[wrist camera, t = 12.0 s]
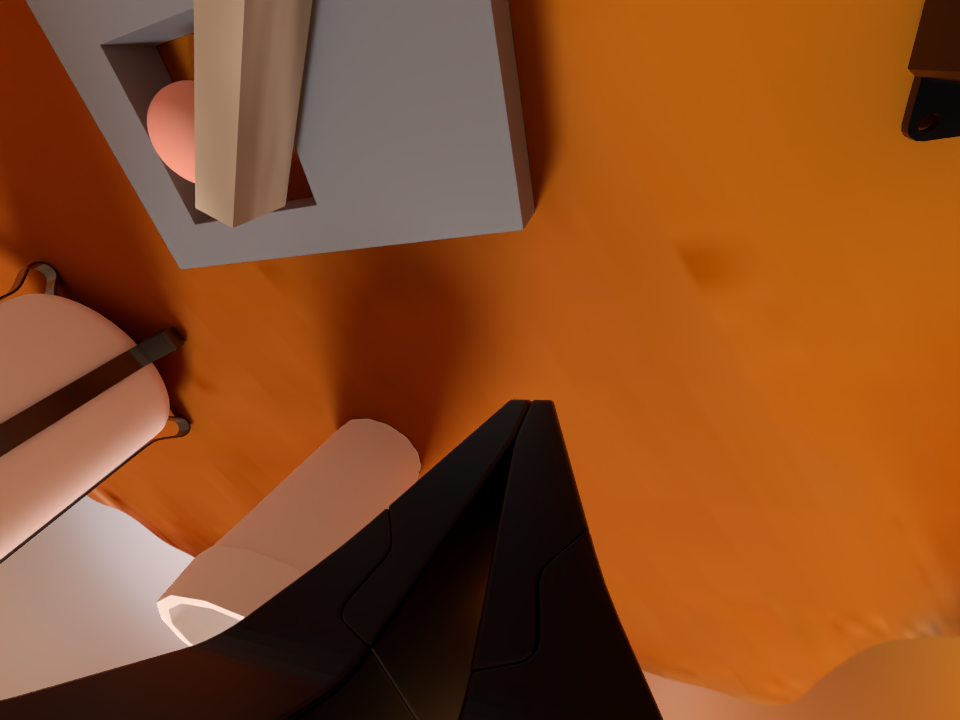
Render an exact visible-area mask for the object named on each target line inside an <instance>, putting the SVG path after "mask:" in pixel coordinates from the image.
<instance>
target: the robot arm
mask: <svg viewBox="0 0 960 720" xmlns="http://www.w3.org/2000/svg"><path fill="white" fill-rule="evenodd" d="M908 69H909V70H910V71H911V72H912V73H913V74H914V75H915V77H914V81H913V84H912V88H911V92H910V95H909V99H908V103H907V107H906V110H905V114H904V118H903V121H902V128H901V131H902V133H903V135H904V136H905V137H907V138H909V139H911V140H915V141H929V140H936V139H943V138H950V137H957V136H960V0H925V4H924V8H923V12H922V16H921V19H920V23H919V27H918V31H917V35H916V38H915V42H914V46H913V50H912V54H911V58H910V61H909V65H908ZM931 113H932V114H933V121H932V123H931V124H930V125H929V126H928V127H927V128H926V129H923V130H919V129H918V124H919V122H920V121H921V119H922V118H924V117H925V116H926V115H928V114H931ZM0 720H663V718H662V716H661V713H660V711H659V709H658V706H657V704H656V702H655V699H654V697H653V695H652V693H651V690H650V688H649V686H648V683H647V681H646V679H645V677H644V674H643V672H642V670H641V667H640V665H639V663H638V661H637V658H636V656H635V654H634V651H633V649H632V647H631V645H630V642H629V640H628V638H627V636H626V633H625V631H624V629H623V626H622V624H621V622H620V619H619V617H618V614H617V612H616V609H615V607H614V604H613V602H612V599H611V597H610V594H609V592H608V589H607V587H606V584H605V581H604V578H603V575H602V571H601V568H600V565H599V562H598V559H597V556H596V552H595V549H594V545H593V542H592V538H591V535H590V533H589V528H588V524H587V521H586V517H585V514H584V510H583V506H582V503H581V499H580V496H579V492H578V488H577V485H576V481H575V477H574V474H573V470H572V467H571V463H570V459H569V456H568V452H567V449H566V445H565V441H564V438H563V434H562V431H561V427H560V423H559V420H558V416H557V413H556V409H555V405H554V402H553V401H551V400H534V401H532V402H531V401H530V400H510V401H509V402H507V403H506V404H505V405H504V406H503V407H502V408H501V409H499V410H498V411H497V412H496V413H495V414H494V415H493V416H491V417H490V418H489V419H488V420H487V421H486V422H485V423H483V424H482V425H481V426H480V427H479V428H478V429H476V430H475V431H474V432H473V433H472V434H471V435H470V436H468V437H467V438H466V439H465V440H464V441H463V442H462V443H460V444H459V445H458V446H457V447H456V448H455V449H454V450H452V451H451V452H450V453H449V454H448V455H447V456H446V457H444V458H443V459H442V460H441V461H440V462H439V463H437V464H436V465H435V466H434V467H433V468H432V469H431V470H429V471H428V472H427V473H426V474H425V475H424V476H423V477H421V478H420V479H419V480H418V481H417V482H416V483H415V484H413V485H412V486H411V487H410V488H409V489H408V490H407V491H405V492H404V493H403V494H402V495H401V496H400V497H398V498H397V499H396V500H395V501H394V502H393V503H392V504H390V505H389V509H384V510H383V511H382V512H381V513H380V514H379V515H378V516H376V517H375V518H374V519H373V520H372V521H371V522H370V523H368V524H367V525H366V526H365V527H364V528H362V529H361V530H360V531H359V532H358V533H356V534H355V535H354V536H353V537H352V538H350V539H349V540H348V541H347V542H346V543H344V544H343V545H342V546H340V547H339V548H338V549H336V550H335V551H334V552H333V553H331V554H330V555H329V556H327V557H326V558H325V559H323V560H322V561H321V562H320V563H318V564H317V565H316V566H314V567H313V568H312V569H310V570H309V571H307V572H306V573H305V574H303V575H302V576H301V577H299V578H298V579H297V580H295V581H294V582H293V583H291V584H290V585H288V586H287V587H286V588H284V589H283V590H282V591H280V592H279V593H278V594H276V595H275V596H274V597H272V598H271V599H269V600H268V601H267V602H265V603H264V604H263V605H261V606H260V607H259V608H257V609H256V610H255V611H253V612H252V613H250V614H249V615H248V616H246V617H245V618H244V619H242V620H241V621H239V622H238V623H236V624H235V625H233V626H232V627H230V628H228V629H227V630H225V631H223V632H221V633H220V634H218V635H216V636H214V637H212V638H210V639H208V640H206V641H203V642H201V643H198V644H196V645H193V646H190V647H187V648H184V649H181V650H178V651H174V652H170V653H167V654H163V655H160V656H157V657H153V658H149V659H146V660H142V661H139V662H136V663H132V664H128V665H125V666H121V667H118V668H114V669H111V670H107V671H104V672H101V673H97V674H93V675H90V676H86V677H83V678H79V679H76V680H73V681H69V682H65V683H62V684H58V685H55V686H51V687H48V688H44V689H41V690H37V691H34V692H30V693H27V694H23V695H20V696H17V697H12V698H8V699H4V700H0Z"/></svg>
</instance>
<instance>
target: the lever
mask: <svg viewBox="0 0 960 720" xmlns="http://www.w3.org/2000/svg"><path fill="white" fill-rule="evenodd" d="M311 8H312V0H194V108H195V208H196V209H198V210H200V211H202V212H204V213H206V214H207V215H209V216H211V217H213V218H215V219H217V220H218V221H220V222H222V223H224V224H226V225H228V226H230V227H231V228H235V227H237V226H239V225H242V224H244V223H246V222H249V221H251V220H253V219H256V218H258V217H260V216H263V215H265V214H268V213H270V212H272V211H275V210H277V209H279V208H282V207H284V206H285V205H286V198H287V190H288V182H289V175H290V167H291V160H292V152H293V144H294V137H295V129H296V122H297V114H298V107H299V99H300V91H301V84H302V76H303V69H304V61H305V53H306V46H307V38H308V31H309V23H310V15H311Z"/></svg>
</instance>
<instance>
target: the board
mask: <svg viewBox="0 0 960 720" xmlns="http://www.w3.org/2000/svg"><path fill="white" fill-rule="evenodd" d="M26 2H27V4H28V6H29V7H30V9H31V11H32V13H33V14H34V16H35V18H36V20H37V21H38V23H39V25H40V27H41V28H42V30H43V32H44V33H45V35H46V37H47V39H48V40H49V42H50V44H51V46H52V47H53V49H54V51H55V53H56V54H57V56H58V58H59V59H60V61H61V63H62V65H63V66H64V68H65V70H66V72H67V73H68V75H69V77H70V79H71V80H72V82H73V84H74V86H75V87H76V89H77V91H78V92H79V94H80V96H81V98H82V99H83V101H84V103H85V105H86V106H87V108H88V110H89V112H90V113H91V115H92V117H93V119H94V120H95V122H96V124H97V125H98V127H99V129H100V131H101V132H102V134H103V136H104V138H105V139H106V141H107V143H108V145H109V146H110V148H111V150H112V151H113V153H114V155H115V157H116V158H117V160H118V162H119V164H120V165H121V167H122V169H123V171H124V172H125V174H126V176H127V178H128V179H129V181H130V183H131V184H132V186H133V188H134V190H135V191H136V193H137V195H138V197H139V198H140V200H141V202H142V204H143V205H144V207H145V209H146V210H147V212H148V214H149V216H150V217H151V219H152V221H153V223H154V224H155V226H156V228H157V230H158V231H159V233H160V235H161V237H162V238H163V240H164V242H165V243H166V245H167V247H168V249H169V250H170V252H171V254H172V256H173V257H174V259H175V261H176V263H177V264H178V266H179V268H180V269H187V268H196V267H205V266H213V265H222V264H231V263H239V262H248V261H257V260H266V259H274V258H283V257H292V256H300V255H309V254H318V253H326V252H335V251H344V250H353V249H361V248H370V247H379V246H387V245H396V244H405V243H413V242H422V241H431V240H440V239H448V238H457V237H466V236H474V235H483V234H492V233H500V232H509V231H518V230H524V228H525V227H526V225H527V223H528V222H529V220H530V219H531V217H532V215H533V214H534V212H535V207H534V199H533V191H532V183H531V175H530V167H529V159H528V151H527V143H526V136H525V128H524V120H523V112H522V104H521V96H520V88H519V80H518V73H517V65H516V57H515V49H514V41H513V33H512V25H511V17H510V9H509V2H508V0H312V8H311V15H310V23H309V31H308V38H307V46H306V53H305V61H304V69H303V76H302V84H301V91H300V99H299V107H298V114H297V122H296V129H295V137H294V145H295V148H296V151H297V153H298V156H299V159H300V161H301V164H302V167H303V169H304V172H305V175H306V177H307V180H308V183H309V185H310V188H311V191H312V193H313V196H314V197H308V198H302V199H296V200H290V201H286V205H285V206H284V207H282V208H279V209H277V210H275V211H272V212H270V213H268V214H265V215H263V216H260V217H258V218H256V219H253V220H251V221H249V222H246V223H244V224H242V225H239V226H237V227H235V228H231V227H230V226H228V225H226V224H224V223H222V222H220V221H218V220H217V219H215V218H213V217H211V216H209V215H207V214H206V213H204V212H202V211H200V210H198V209H196V208H195V183H193V182H190V181H188V180H186V179H184V178H183V177H181V176H179V175H178V174H177V173H175V172H174V171H173V170H172V169H170V168H169V167H168V166H167V165H166V164H165V163H164V161H163V160H162V159H161V158H160V156H159V155H158V154H157V152H156V150H155V148H154V147H153V145H152V142H151V140H150V137H149V133H148V128H147V113H148V109H149V106H150V103H151V101H152V100H153V98H154V96H155V95H156V94H157V93H158V92H159V91H160V90H161V89H162V88H164V87H166V86H167V85H169V84H171V83H173V82H172V79H171V77H170V75H169V73H168V71H167V69H166V67H165V65H164V63H163V61H162V58H161V56H160V54H159V52H158V50H157V48H156V46H157V45H160V44H163V43H165V42H168V41H171V40H174V39H176V38H179V37H182V36H185V35H187V34H190V33H193V32H194V0H26Z"/></svg>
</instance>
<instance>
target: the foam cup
mask: <svg viewBox="0 0 960 720" xmlns="http://www.w3.org/2000/svg"><path fill="white" fill-rule="evenodd" d="M420 469H421V464H420V459H419V455H418V452H417V450H416V449H415V448H414V447H413V445H412V444H411V443H410V441H409V440H408V439H407V437H405V436H404V435H403V434H401V433H400V432H398V431H397V430H395V429H394V428H392V427H391V426H389V425H387V424H384V423H381V422H378V421H375V420H372V419H353V420H350V421H349V422H347V423H346V424H344V425H343V426H342V427H340V428H339V430H337V431H336V432H335V433H333V434H332V435H331V436H330V437H329V438H328V439H327V440H326V441H325V442H324V443H323V444H322V445H321V446H320V447H318V448H317V449H316V450H315V451H314V452H313V453H312V454H311V455H310V456H309V457H308V458H307V459H306V460H305V461H303V462H302V463H301V464H300V465H299V466H298V467H297V468H296V469H295V470H294V471H293V472H292V473H291V474H290V475H289V476H287V477H286V478H285V479H284V480H283V481H282V482H281V483H280V484H279V485H278V486H277V487H276V488H275V489H274V490H272V491H271V492H270V493H269V494H268V495H267V496H266V497H265V498H264V499H263V500H262V501H261V502H260V503H259V504H258V505H256V506H255V507H254V508H253V509H252V510H251V511H250V512H249V513H248V514H247V515H246V516H245V517H244V518H243V519H241V520H240V521H239V522H238V523H237V524H236V525H235V526H234V527H233V528H232V529H231V530H230V531H229V532H228V533H227V534H225V535H224V536H223V537H222V538H221V539H220V540H219V541H218V542H217V543H216V544H215V545H214V546H212V547H210V548H209V549H207V550H205V551H204V552H202V553H200V554H199V555H197V556H196V558H195V559H194V560H193V561H192V562H191V563H190V565H189V566H188V567H187V568H186V569H185V570H184V571H183V572H182V574H181V575H180V576H179V577H178V578H177V579H176V580H175V582H174V583H173V584H172V585H171V586H170V587H169V588H168V590H167V591H166V592H165V593H164V594H163V595H162V596H161V598H160V599H159V600H158V601H157V606H158V609H159V613H160V616H161V619H162V620H163V621H164V622H165V623H166V624H167V625H168V626H169V628H170V629H171V630H172V631H173V632H174V633H175V634H176V635H177V636H178V637H179V638H180V639H181V640H182V641H183V642H185V643H186V644H187V645H189V646H193V645H196V644H198V643H201V642H203V641H206V640H208V639H210V638H212V637H214V636H216V635H218V634H220V633H221V632H223V631H225V630H227V629H228V628H230V627H232V626H233V625H235V624H236V623H238V622H239V621H241V620H242V619H244V618H245V617H246V616H248V615H249V614H250V613H252V612H253V611H255V610H256V609H257V608H259V607H260V606H261V605H263V604H264V603H265V602H267V601H268V600H269V599H271V598H272V597H274V596H275V595H276V594H278V593H279V592H280V591H282V590H283V589H284V588H286V587H287V586H288V585H290V584H291V583H293V582H294V581H295V580H297V579H298V578H299V577H301V576H302V575H303V574H305V573H306V572H307V571H309V570H310V569H312V568H313V567H314V566H316V565H317V564H318V563H320V562H321V561H322V560H323V559H325V558H326V557H327V556H329V555H330V554H331V553H333V552H334V551H335V550H336V549H338V548H339V547H340V546H342V545H343V544H344V543H346V542H347V541H348V540H349V539H350V538H352V537H353V536H354V535H355V534H356V533H358V532H359V531H360V530H361V529H362V528H364V527H365V526H366V525H367V524H368V523H370V522H371V521H372V520H373V519H374V518H375V517H376V516H378V515H379V514H380V513H381V512H382V511H383V510H384V509H389V505H390V504H392V503H393V502H394V501H395V500H396V499H397V498H398V497H400V496H401V495H402V494H403V493H404V492H405V491H407V490H408V489H409V488H410V487H411V486H412V485H413V484H415V483H416V482H417V479H418V476H419V471H420Z"/></svg>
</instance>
